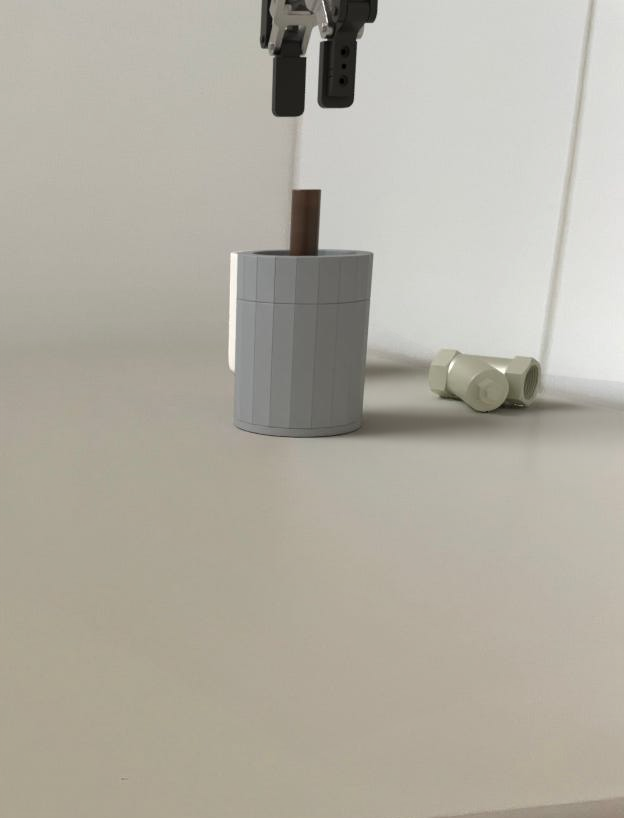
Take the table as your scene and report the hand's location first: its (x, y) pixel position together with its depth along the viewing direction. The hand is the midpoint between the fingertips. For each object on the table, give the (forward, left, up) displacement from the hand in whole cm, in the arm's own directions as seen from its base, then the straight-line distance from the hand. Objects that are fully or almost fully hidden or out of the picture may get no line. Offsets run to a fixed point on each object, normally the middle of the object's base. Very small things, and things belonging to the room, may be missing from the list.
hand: (310, 112), depth 72 cm
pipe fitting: (-16, -3, -21) cm, 27 cm away
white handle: (-6, -21, -21) cm, 30 cm away
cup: (0, 0, -21) cm, 21 cm away
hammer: (0, 0, -20) cm, 20 cm away
